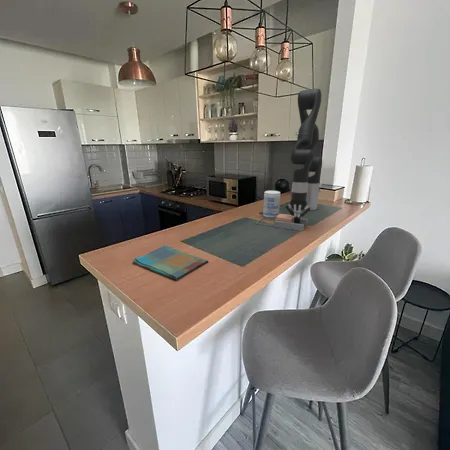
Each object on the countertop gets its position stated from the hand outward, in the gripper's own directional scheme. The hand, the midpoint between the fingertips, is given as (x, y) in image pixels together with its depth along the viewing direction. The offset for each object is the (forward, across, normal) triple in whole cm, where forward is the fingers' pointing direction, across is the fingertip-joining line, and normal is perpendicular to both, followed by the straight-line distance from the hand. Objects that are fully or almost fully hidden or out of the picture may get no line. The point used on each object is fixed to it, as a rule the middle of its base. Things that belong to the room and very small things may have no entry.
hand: (296, 223), depth 130 cm
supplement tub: (+2, +18, -13) cm, 23 cm away
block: (+2, +6, 0) cm, 7 cm away
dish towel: (+2, +32, +63) cm, 70 cm away
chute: (+2, +3, 0) cm, 3 cm away
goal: (+2, +16, 0) cm, 16 cm away
